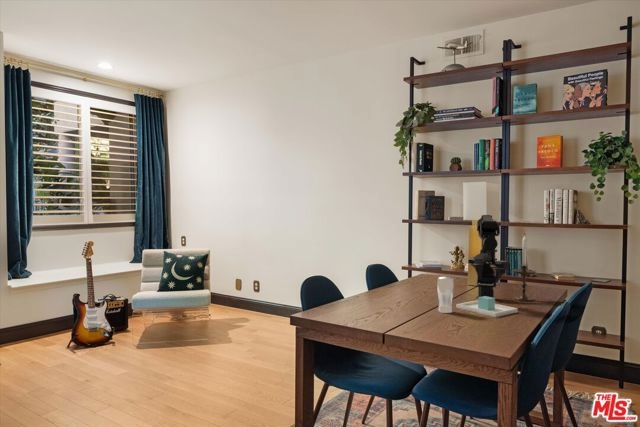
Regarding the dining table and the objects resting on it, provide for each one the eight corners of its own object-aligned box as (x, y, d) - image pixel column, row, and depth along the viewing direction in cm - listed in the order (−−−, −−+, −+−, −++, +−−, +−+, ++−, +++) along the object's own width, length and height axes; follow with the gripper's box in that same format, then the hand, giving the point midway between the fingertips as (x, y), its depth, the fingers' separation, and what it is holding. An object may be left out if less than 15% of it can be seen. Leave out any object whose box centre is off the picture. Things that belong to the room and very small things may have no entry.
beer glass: (453, 310, 199) (454, 276, 199) (453, 314, 192) (453, 279, 192) (437, 309, 201) (438, 276, 201) (436, 312, 195) (436, 278, 194)
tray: (456, 308, 204) (456, 304, 204) (478, 303, 213) (478, 300, 213) (495, 317, 188) (495, 313, 188) (517, 312, 197) (517, 308, 197)
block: (478, 308, 201) (478, 297, 201) (485, 307, 204) (485, 296, 204) (487, 310, 197) (487, 299, 197) (494, 309, 200) (494, 298, 200)
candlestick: (512, 300, 221) (513, 229, 220) (511, 296, 231) (512, 228, 230) (536, 302, 217) (537, 230, 216) (535, 298, 227) (536, 229, 226)
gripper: (461, 246, 212) (460, 279, 213) (496, 250, 197) (495, 286, 197) (476, 245, 218) (475, 276, 219) (511, 249, 203) (510, 283, 204)
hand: (488, 280), depth 210 cm, fingers open, 9 cm apart
